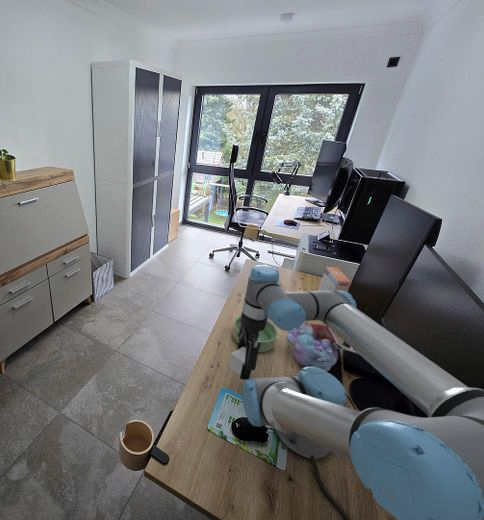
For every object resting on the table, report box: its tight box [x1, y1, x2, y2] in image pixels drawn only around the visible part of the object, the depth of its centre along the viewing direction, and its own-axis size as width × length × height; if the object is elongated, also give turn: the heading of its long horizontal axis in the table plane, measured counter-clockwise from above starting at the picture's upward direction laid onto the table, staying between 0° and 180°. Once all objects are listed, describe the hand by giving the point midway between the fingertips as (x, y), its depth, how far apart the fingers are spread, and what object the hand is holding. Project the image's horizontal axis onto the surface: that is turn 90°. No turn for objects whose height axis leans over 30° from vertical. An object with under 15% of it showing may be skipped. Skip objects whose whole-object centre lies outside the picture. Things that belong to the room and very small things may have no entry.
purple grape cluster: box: [286, 322, 359, 373], centre depth 112 cm, size 20×22×18 cm
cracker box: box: [317, 266, 352, 293], centre depth 139 cm, size 14×6×21 cm, turn 168°
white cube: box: [228, 346, 259, 376], centre depth 96 cm, size 6×6×6 cm
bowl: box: [231, 315, 278, 353], centre depth 123 cm, size 17×17×6 cm
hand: (241, 367), depth 97 cm, fingers closed on white cube, 8 cm apart
